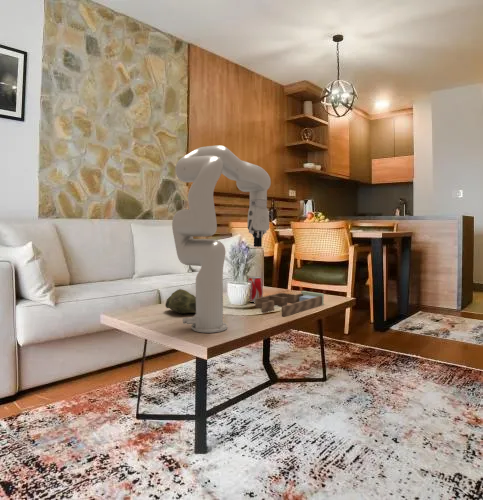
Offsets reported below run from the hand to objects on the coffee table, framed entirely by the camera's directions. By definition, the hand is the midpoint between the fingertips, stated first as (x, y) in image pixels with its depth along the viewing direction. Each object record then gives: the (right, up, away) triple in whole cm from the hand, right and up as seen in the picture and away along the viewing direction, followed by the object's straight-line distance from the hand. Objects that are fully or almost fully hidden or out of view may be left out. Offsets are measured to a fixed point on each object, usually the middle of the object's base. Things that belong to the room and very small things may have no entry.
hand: (257, 246), depth 174 cm
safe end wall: (+26, -26, +11) cm, 38 cm away
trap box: (+12, -27, +2) cm, 30 cm away
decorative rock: (-31, -28, -8) cm, 42 cm away
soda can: (-1, -26, +13) cm, 30 cm away
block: (+24, -27, +7) cm, 36 cm away
